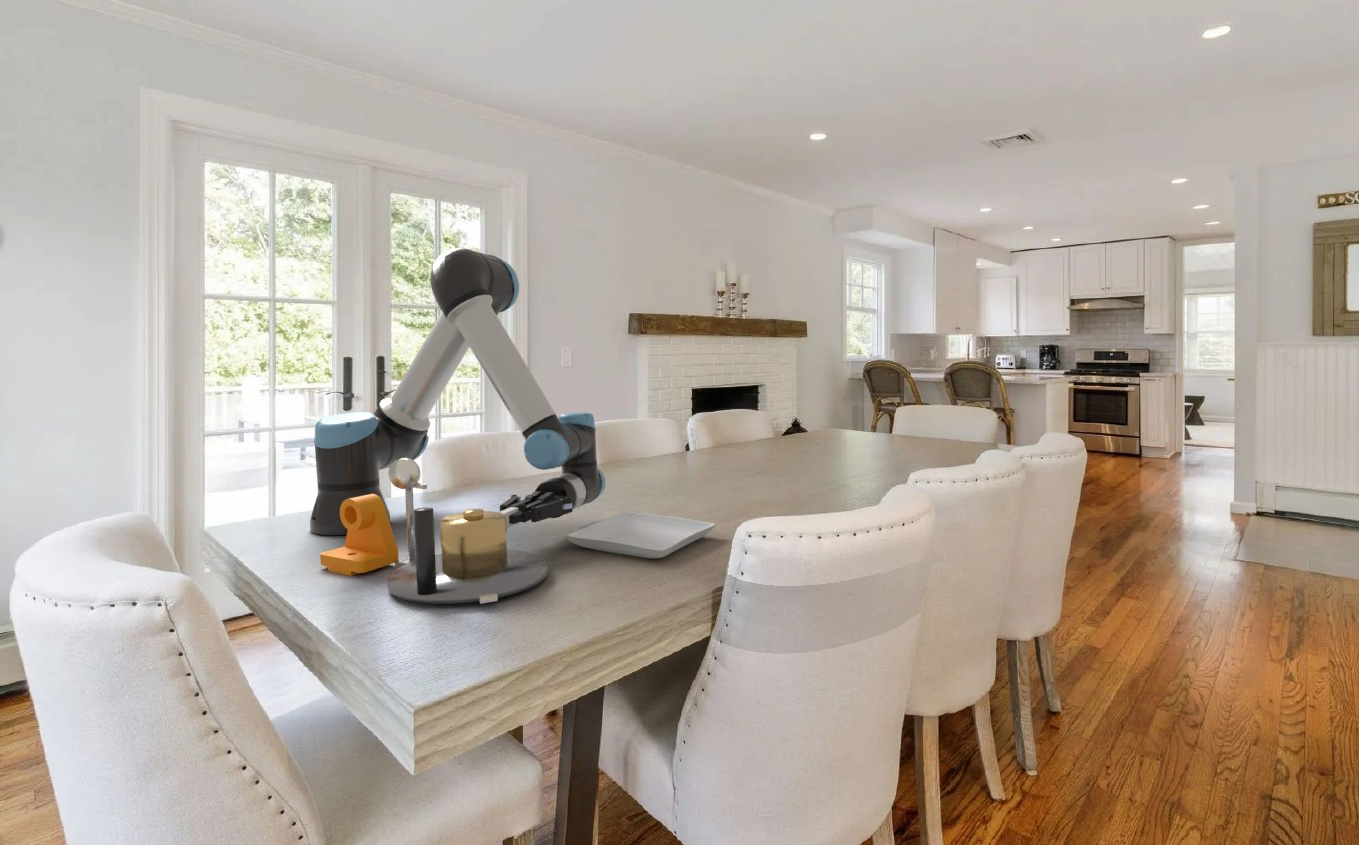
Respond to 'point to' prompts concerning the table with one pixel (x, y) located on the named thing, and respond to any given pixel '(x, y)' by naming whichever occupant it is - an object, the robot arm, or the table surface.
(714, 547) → the table surface
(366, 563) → the bracket
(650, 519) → the salad plate
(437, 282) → the robot arm
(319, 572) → the table surface
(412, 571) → the turntable
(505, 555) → the cover
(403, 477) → the stand
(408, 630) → the table surface
